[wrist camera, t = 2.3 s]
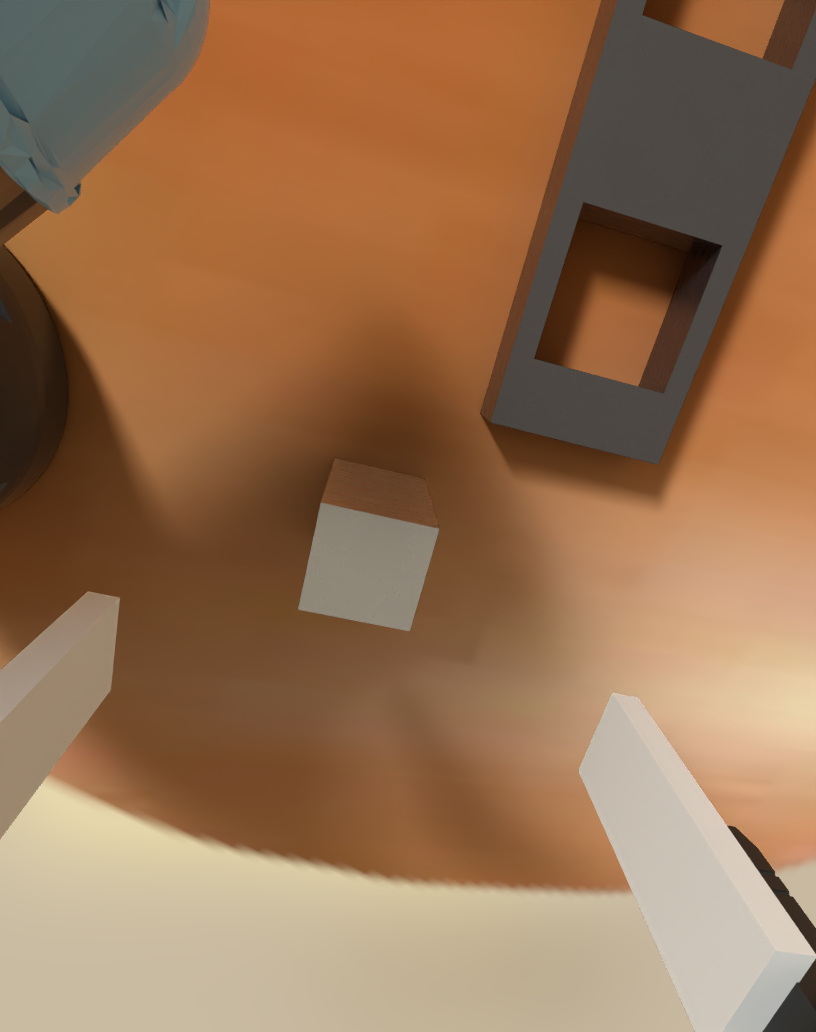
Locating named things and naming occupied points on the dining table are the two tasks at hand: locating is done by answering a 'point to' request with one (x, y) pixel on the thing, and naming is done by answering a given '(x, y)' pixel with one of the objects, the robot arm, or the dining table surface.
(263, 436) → the dining table surface
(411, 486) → the light grey rectangular block
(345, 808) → the dining table surface
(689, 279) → the grey slotted frame
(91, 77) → the robot arm
